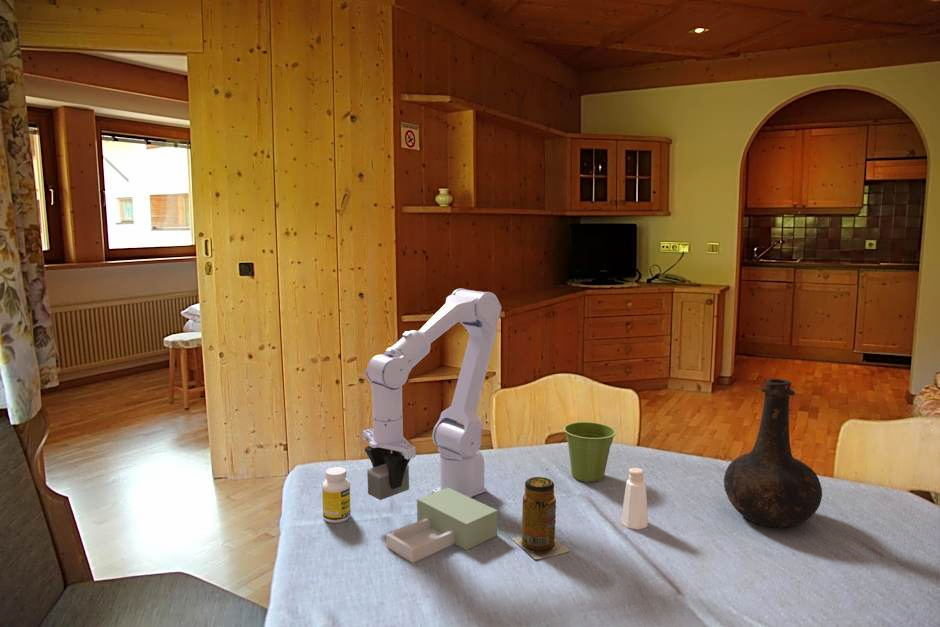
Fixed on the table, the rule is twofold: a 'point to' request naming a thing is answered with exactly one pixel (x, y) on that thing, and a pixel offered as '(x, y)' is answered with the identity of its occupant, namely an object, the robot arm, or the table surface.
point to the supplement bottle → (336, 495)
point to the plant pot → (589, 449)
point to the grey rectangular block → (384, 482)
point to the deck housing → (444, 525)
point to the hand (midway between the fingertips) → (389, 483)
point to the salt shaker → (635, 501)
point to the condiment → (539, 520)
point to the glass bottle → (773, 470)
